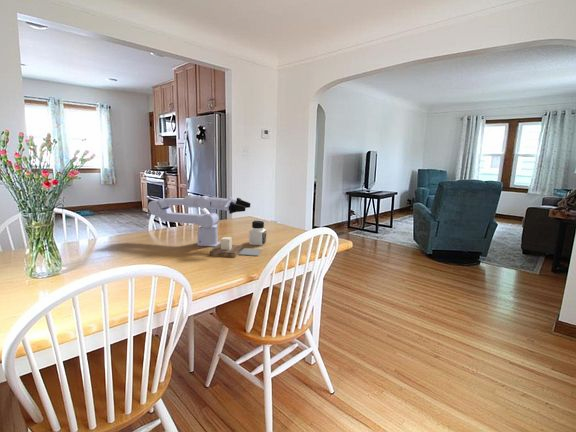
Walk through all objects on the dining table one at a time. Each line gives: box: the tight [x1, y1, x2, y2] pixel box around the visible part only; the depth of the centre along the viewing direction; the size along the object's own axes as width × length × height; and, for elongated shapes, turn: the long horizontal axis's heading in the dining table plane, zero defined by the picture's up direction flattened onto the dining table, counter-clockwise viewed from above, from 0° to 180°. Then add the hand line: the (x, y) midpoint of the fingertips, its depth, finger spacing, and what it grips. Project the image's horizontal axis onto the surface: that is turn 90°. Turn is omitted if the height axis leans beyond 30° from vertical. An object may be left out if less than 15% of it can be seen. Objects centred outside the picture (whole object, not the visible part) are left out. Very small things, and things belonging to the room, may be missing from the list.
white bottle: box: [248, 219, 267, 246], centre depth 163 cm, size 7×7×12 cm
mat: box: [238, 247, 263, 257], centre depth 149 cm, size 9×9×1 cm
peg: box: [220, 236, 233, 250], centre depth 147 cm, size 4×4×7 cm
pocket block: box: [209, 243, 243, 258], centre depth 148 cm, size 12×12×2 cm
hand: (247, 207), depth 153 cm, fingers open, 7 cm apart
